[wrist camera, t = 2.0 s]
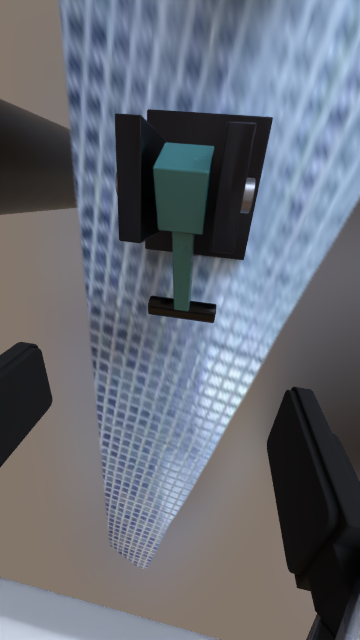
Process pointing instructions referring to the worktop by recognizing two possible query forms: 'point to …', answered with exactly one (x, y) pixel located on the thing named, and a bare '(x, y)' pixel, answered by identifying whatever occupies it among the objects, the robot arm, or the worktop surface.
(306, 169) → the worktop surface
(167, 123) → the bracket
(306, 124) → the worktop surface
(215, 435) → the worktop surface
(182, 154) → the lever
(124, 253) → the worktop surface
